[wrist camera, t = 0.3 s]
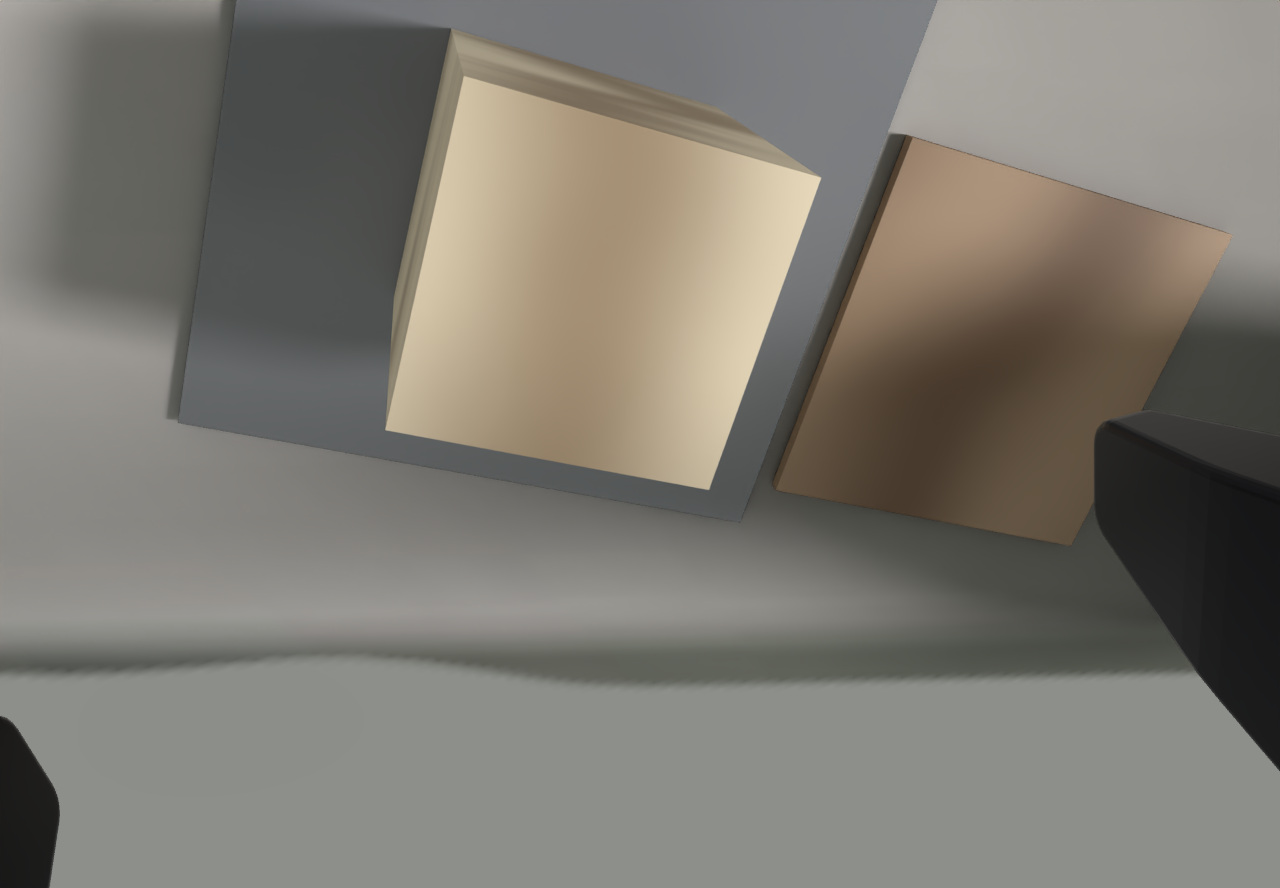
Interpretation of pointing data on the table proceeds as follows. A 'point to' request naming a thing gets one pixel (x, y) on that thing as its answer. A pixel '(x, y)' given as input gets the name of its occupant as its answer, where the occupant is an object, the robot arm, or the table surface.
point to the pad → (992, 345)
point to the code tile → (389, 174)
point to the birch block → (586, 267)
